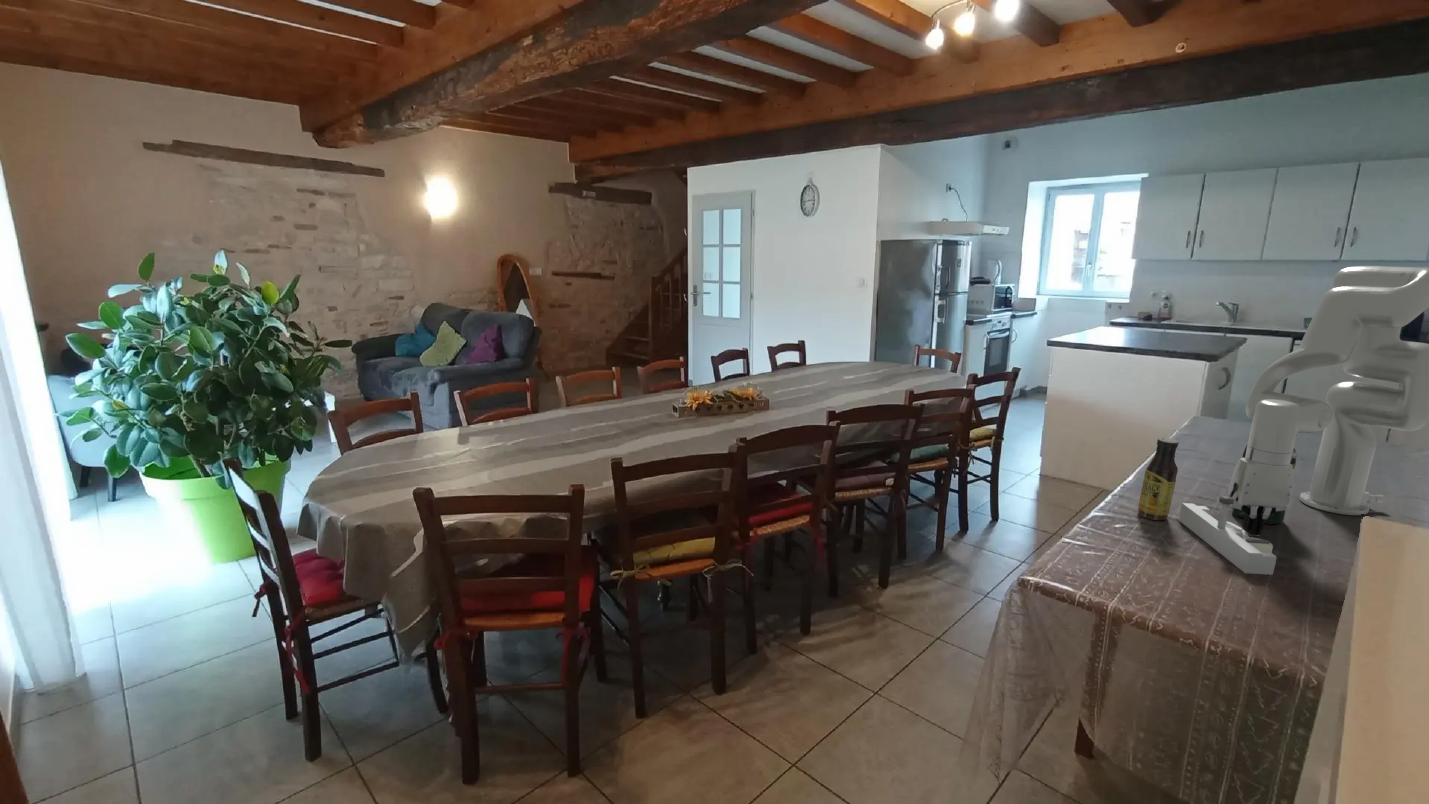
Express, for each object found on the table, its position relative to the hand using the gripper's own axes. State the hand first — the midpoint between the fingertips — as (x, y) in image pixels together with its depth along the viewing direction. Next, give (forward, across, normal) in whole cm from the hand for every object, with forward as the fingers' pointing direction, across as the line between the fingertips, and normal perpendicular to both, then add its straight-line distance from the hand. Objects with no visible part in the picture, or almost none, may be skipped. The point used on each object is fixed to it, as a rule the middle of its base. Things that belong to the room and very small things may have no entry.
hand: (1251, 532), depth 143 cm
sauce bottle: (+1, +16, -9) cm, 18 cm away
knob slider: (+1, +6, +12) cm, 14 cm away
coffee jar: (+1, -8, -12) cm, 14 cm away
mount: (+1, +9, +5) cm, 10 cm away
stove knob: (+2, +4, 0) cm, 4 cm away
